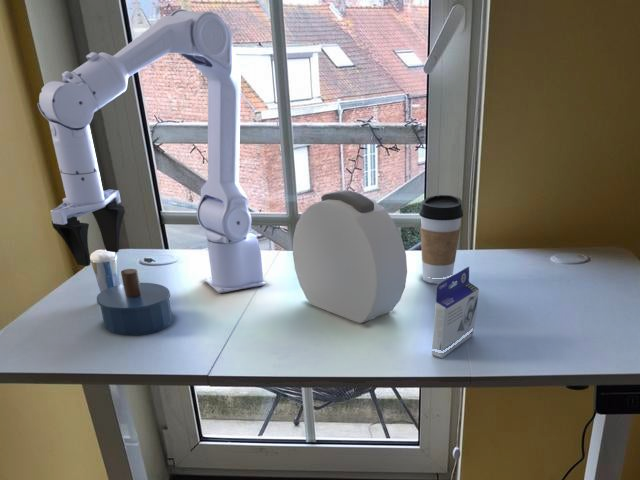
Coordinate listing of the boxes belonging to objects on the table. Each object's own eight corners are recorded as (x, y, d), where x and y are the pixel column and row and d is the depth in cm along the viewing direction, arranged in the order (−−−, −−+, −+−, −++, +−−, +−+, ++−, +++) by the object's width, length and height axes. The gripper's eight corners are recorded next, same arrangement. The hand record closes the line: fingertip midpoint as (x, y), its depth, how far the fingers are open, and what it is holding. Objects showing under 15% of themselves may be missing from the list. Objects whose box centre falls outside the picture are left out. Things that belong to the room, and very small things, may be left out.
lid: (142, 283, 132) (137, 255, 129) (185, 299, 126) (181, 270, 123) (83, 302, 124) (76, 272, 121) (126, 320, 118) (119, 289, 115)
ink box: (443, 360, 117) (448, 288, 110) (430, 356, 118) (434, 285, 111) (475, 335, 124) (481, 267, 118) (463, 332, 125) (468, 265, 118)
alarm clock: (406, 318, 130) (409, 200, 118) (377, 330, 126) (378, 209, 114) (323, 288, 142) (320, 178, 130) (294, 298, 137) (287, 185, 125)
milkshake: (122, 306, 133) (110, 250, 127) (95, 304, 134) (82, 248, 128) (134, 298, 136) (123, 243, 130) (107, 295, 137) (95, 241, 131)
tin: (145, 305, 133) (141, 281, 131) (185, 321, 128) (181, 296, 125) (92, 323, 126) (86, 298, 124) (131, 341, 121) (126, 315, 118)
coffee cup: (465, 276, 148) (472, 198, 139) (445, 289, 142) (450, 208, 133) (429, 269, 151) (433, 192, 142) (408, 280, 146) (411, 201, 137)
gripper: (88, 159, 121) (105, 243, 129) (25, 178, 110) (49, 268, 119) (124, 162, 119) (139, 247, 128) (64, 182, 109) (85, 273, 117)
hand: (98, 257), depth 123 cm, fingers open, 7 cm apart
